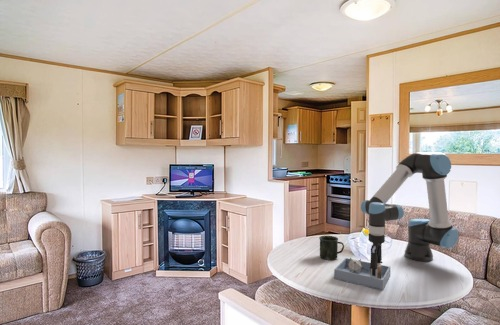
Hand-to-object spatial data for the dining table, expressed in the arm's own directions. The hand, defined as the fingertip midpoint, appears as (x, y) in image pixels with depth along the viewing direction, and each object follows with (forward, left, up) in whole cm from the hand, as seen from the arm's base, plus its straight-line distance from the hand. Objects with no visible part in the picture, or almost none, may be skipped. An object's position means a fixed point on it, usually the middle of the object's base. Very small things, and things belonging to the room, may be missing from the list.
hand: (375, 278), depth 155 cm
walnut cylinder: (0, 0, 0) cm, 0 cm away
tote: (0, -6, -1) cm, 7 cm away
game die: (0, -10, -1) cm, 10 cm away
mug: (-19, -29, -1) cm, 35 cm away
